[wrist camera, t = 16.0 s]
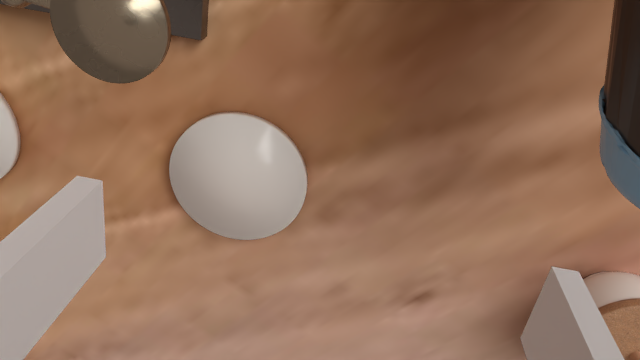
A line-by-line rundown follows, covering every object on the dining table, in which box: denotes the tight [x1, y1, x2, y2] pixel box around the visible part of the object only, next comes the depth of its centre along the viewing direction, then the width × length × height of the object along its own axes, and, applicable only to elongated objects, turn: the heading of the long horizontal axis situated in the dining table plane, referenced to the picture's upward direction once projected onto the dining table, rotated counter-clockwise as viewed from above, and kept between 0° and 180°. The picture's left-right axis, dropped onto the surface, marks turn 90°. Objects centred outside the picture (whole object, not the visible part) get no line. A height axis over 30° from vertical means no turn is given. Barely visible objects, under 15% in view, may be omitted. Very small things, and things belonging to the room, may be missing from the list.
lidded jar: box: [583, 271, 640, 360], centre depth 48 cm, size 11×11×9 cm
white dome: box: [169, 112, 308, 240], centre depth 50 cm, size 13×13×2 cm
